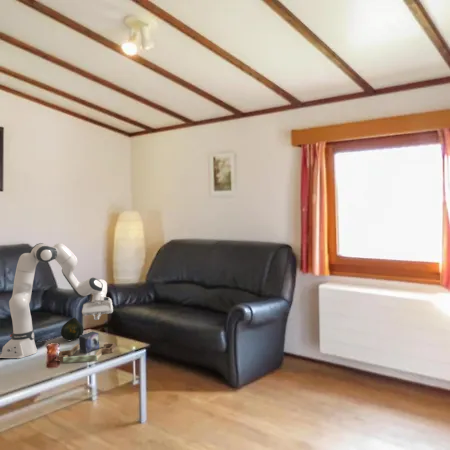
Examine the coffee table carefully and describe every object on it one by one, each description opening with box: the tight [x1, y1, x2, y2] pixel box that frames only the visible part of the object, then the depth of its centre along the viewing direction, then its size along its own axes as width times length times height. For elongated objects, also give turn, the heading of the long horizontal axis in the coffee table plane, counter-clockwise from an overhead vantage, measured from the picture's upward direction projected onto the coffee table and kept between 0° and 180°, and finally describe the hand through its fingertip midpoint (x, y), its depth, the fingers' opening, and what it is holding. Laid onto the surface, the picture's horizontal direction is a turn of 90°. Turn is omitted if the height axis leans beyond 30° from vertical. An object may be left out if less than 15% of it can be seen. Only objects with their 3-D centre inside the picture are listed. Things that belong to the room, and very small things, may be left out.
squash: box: [60, 317, 84, 341], centre depth 310 cm, size 14×15×15 cm
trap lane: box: [58, 341, 117, 364], centre depth 276 cm, size 32×25×3 cm
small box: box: [78, 331, 101, 355], centre depth 282 cm, size 11×6×10 cm, turn 143°
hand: (96, 319), depth 300 cm, fingers closed
